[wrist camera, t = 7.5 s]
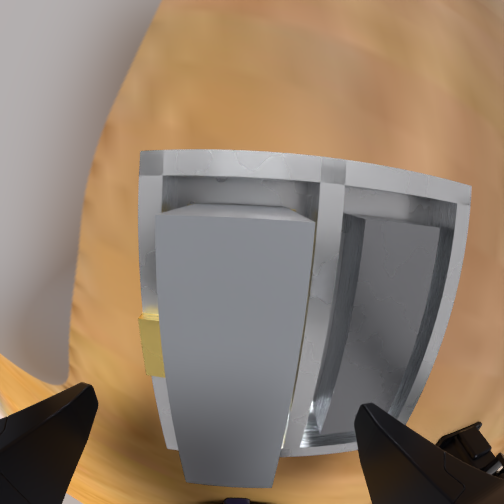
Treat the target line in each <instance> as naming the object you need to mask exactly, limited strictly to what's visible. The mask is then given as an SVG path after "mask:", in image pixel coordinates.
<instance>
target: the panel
mask: <svg viewBox="0 0 504 504" xmlns="http://www.w3.org/2000/svg"><path fill="white" fill-rule="evenodd" d="M314 232H315V222H314V221H312V220H310V219H308V218H306V217H304V216H302V215H300V214H299V213H297V212H295V211H293V210H291V209H289V208H287V207H277V206H261V205H242V204H219V203H196V204H192V205H188V206H185V207H181V208H177V209H174V210H170V211H167V212H163V213H160V214H156V215H155V251H156V280H157V298H158V312H159V324H160V335H161V345H162V354H163V362H164V370H165V378H166V385H167V391H168V398H169V404H170V410H171V415H172V421H173V426H174V431H175V436H176V441H177V446H178V450H179V455H180V459H181V464H182V468H183V472H184V476H185V480H186V482H188V483H195V484H204V485H213V486H225V487H242V488H272V485H273V481H274V477H275V473H276V469H277V465H278V460H279V456H280V452H281V447H282V443H283V438H284V434H285V429H286V424H287V419H288V415H289V410H290V404H291V399H292V394H293V388H294V383H295V377H296V371H297V366H298V359H299V353H300V347H301V340H302V334H303V327H304V320H305V313H306V305H307V297H308V289H309V281H310V272H311V263H312V253H313V243H314Z"/></svg>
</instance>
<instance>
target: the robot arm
mask: <svg viewBox="0 0 504 504" xmlns="http://www.w3.org/2000/svg"><path fill="white" fill-rule="evenodd" d="M97 409H98V400H97V397H96V394H95V391H94V388H93V386H92V385H90V384H87V383H83V382H81V383H79V384H77V385H75V386H73V387H70V388H68V389H66V390H64V391H62V392H60V393H58V394H56V395H54V396H51V397H49V398H47V399H45V400H43V401H41V402H38V403H36V404H34V405H32V406H30V407H27V408H25V409H23V410H21V411H18V412H16V413H14V414H11V415H9V416H8V417H4V418H2V419H0V504H62V502H63V499H64V496H65V494H66V491H67V489H68V486H69V484H70V481H71V479H72V476H73V474H74V471H75V469H76V466H77V464H78V461H79V459H80V457H81V454H82V452H83V450H84V447H85V445H86V443H87V440H88V437H89V434H90V431H91V428H92V425H93V421H94V418H95V415H96V412H97ZM481 426H482V423H481V422H478V423H476V424H473V425H471V426H469V427H467V428H464V429H462V430H459V431H457V432H454V433H452V434H449V435H447V436H444V437H443V438H442V439H441V440H440V442H439V443H438V444H437V446H436V445H434V444H433V443H431V442H430V441H428V440H427V439H425V438H424V437H422V436H421V435H419V434H418V433H416V432H415V431H413V430H412V429H410V428H409V427H407V426H406V425H404V424H403V423H401V422H400V421H398V420H397V419H396V418H394V417H393V416H391V415H390V414H388V413H387V412H385V411H384V410H383V409H381V408H380V407H378V406H377V405H376V404H374V403H364V404H361V405H360V407H359V410H358V412H357V415H356V417H355V420H354V429H355V435H356V440H357V446H358V452H359V458H360V463H361V466H362V470H363V473H364V476H365V480H366V483H367V487H368V490H369V494H370V497H371V501H372V504H504V455H503V454H502V453H499V454H498V455H497V456H496V457H495V456H494V455H493V453H492V452H491V446H490V445H489V443H488V442H487V441H486V439H485V438H484V437H483V435H482V434H481V433H480V431H479V429H480V427H481ZM501 466H503V468H502V469H501V470H500V471H497V470H498V469H499V468H500V467H501Z"/></svg>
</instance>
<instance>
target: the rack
mask: <svg viewBox="0 0 504 504" xmlns="http://www.w3.org/2000/svg"><path fill="white" fill-rule="evenodd" d="M471 187H472V186H469V185H466V184H462V183H459V182H455V181H451V180H447V179H443V178H439V177H435V176H431V175H426V174H422V173H417V172H413V171H408V170H403V169H398V168H393V167H387V166H382V165H376V164H370V163H364V162H358V161H351V160H344V159H336V158H329V157H320V156H311V155H301V154H290V153H278V152H263V151H244V150H202V149H194V150H152V151H141V152H140V169H139V196H138V238H139V266H140V282H141V296H142V307H143V313H142V314H141V316H140V317H139V318H138V321H139V329H140V337H141V344H142V351H143V357H144V364H145V369H146V375H150V376H152V382H153V387H154V392H155V398H156V403H157V408H158V412H159V417H160V421H161V426H162V430H163V434H164V438H165V442H166V446H167V449H173V450H178V446H177V441H176V436H175V431H174V426H173V421H172V415H171V410H170V404H169V398H168V391H167V385H166V378H165V370H164V362H163V354H162V345H161V335H160V324H159V312H158V298H157V280H156V251H155V215H156V214H160V213H163V212H167V211H170V210H174V209H177V208H181V207H185V206H188V205H192V204H196V203H219V204H242V205H261V206H277V207H287V208H289V209H291V210H293V211H295V212H297V213H299V214H300V215H302V216H304V217H306V218H308V219H310V220H312V221H314V222H315V232H314V243H313V253H312V263H311V272H310V281H309V289H308V297H307V305H306V313H305V320H304V327H303V334H302V340H301V347H300V353H299V359H298V366H297V371H296V377H295V383H294V388H293V394H292V399H291V404H290V410H289V415H288V419H287V424H286V429H285V434H284V438H283V443H282V447H281V452H280V456H279V457H297V456H312V455H323V454H332V453H340V452H347V451H354V450H358V446H357V440H356V435H355V429H354V420H355V417H356V415H357V412H358V410H359V407H360V405H361V404H364V403H374V404H376V405H377V406H378V407H380V408H381V409H383V410H384V411H385V412H387V413H388V414H390V415H391V416H393V417H394V418H396V419H397V420H398V421H400V422H401V423H403V424H404V425H406V423H407V421H408V419H409V417H410V415H411V413H412V412H413V410H414V408H415V405H416V403H417V401H418V399H419V397H420V395H421V393H422V391H423V388H424V386H425V384H426V382H427V379H428V377H429V374H430V372H431V370H432V367H433V365H434V362H435V359H436V357H437V354H438V351H439V348H440V346H441V343H442V340H443V337H444V334H445V331H446V328H447V324H448V321H449V318H450V314H451V311H452V307H453V303H454V300H455V296H456V292H457V287H458V283H459V278H460V274H461V269H462V264H463V258H464V252H465V246H466V240H467V232H468V224H469V215H470V203H471Z"/></svg>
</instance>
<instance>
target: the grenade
mask: <svg viewBox="0 0 504 504" xmlns="http://www.w3.org/2000/svg"><path fill="white" fill-rule="evenodd" d="M224 504H250V500H249V499H246V498H227V499H226V500H225V501H224Z"/></svg>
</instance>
